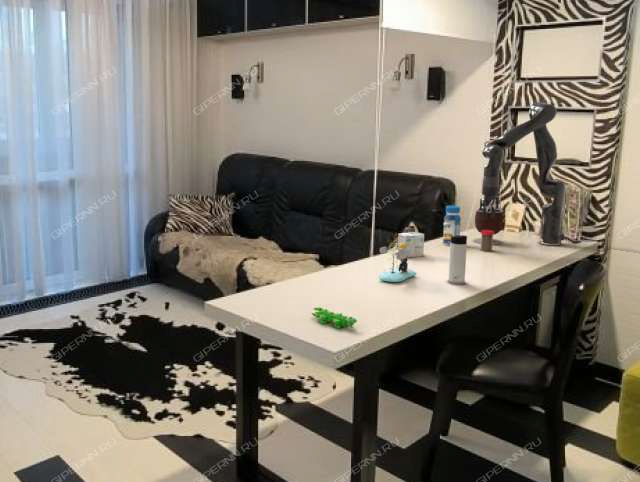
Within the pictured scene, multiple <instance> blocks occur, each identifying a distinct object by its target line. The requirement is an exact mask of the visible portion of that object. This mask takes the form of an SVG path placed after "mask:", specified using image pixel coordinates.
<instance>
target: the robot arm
mask: <svg viewBox="0 0 640 482" xmlns="http://www.w3.org/2000/svg"><path fill="white" fill-rule="evenodd" d="M528 116H529V120H527V121H525V122H523V123H520V124H518V125H515V126H513V127H511V128H510V129H508V130H507V131H506V132H505V133H503V134H502V135H500V137H497V138H495V139H493V140H492V141H490V142H489V143H487V144H486V145H485V146H483V148H482V150H481V154H482V156H483V157H484V158H485V159H488V161H487V164H485V165H484V166H483V176H482V185H481V186H482V187H481V195H482V196H484V197H483V198H480V199H479V208H480V211H482V219H484V220H487V211H488V209H489V208H491V211H490V217H491V218H495V210H496V209H499V208H500V207H499V206H500V196H498V195H499V191H500V190H499V189H500V169H501V166H502V162H503V159H504V150H507V149H510V148H512V147H513V146H515V145H516V144H517V143H518V142H520V141H521V140H522V139H523V138H525V137H527V136H528V135H530V134H531V133H533V137H534V138H533V139H534V145H535V146H534V147H535V154H536V159H537V166H538V176H539V180H538V182H539V183H538V184H539V193H540V195H541V196H542V197H544V198H546V199H552V202H550V203H546V204H543V205H542V207H541V220H540V233H539V234H540V235H539V239H538V240H539V244H540V245H545V246H560V245H562V241H564V240H568V241H569V242H570V243H573V244H578V243H581V240H572V239H571V238H570V237H567V236H565V233H563V225H562V220H563V219H562V217H563V209H564V204H565V196H566V190H567V189H566V183H565V182H564V181H562V180H554V179H550V171H551V169H552V167H553V166H554V165H555V163H556V161H557V159H558V148H557V144H556V141H555V140H554V137H553V136H552V134H551V133H550V131H549V129H548V126H547V124H549V123H551V122H552V121H553V120H554V119H555V118H556V116H557V107H556V106H555V105H553V104H551V103H547V102H540V101H536V102H534V103H532V104H531V106H530V107H529V110H528Z"/></svg>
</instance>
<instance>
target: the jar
mask: <svg viewBox="0 0 640 482" xmlns="http://www.w3.org/2000/svg"><path fill="white" fill-rule="evenodd" d="M481 238H482V240H481V243H480V251H482V252H493V246H494V245H493V239H494V235H482V234H481Z"/></svg>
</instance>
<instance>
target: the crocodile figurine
mask: <svg viewBox="0 0 640 482" xmlns="http://www.w3.org/2000/svg"><path fill="white" fill-rule="evenodd" d="M312 310H314V312H311V315H312V316H313V317H315V318H316V319H320V321H319V322H320V323H321V324H323V325H325V324H327V323H328V322H332V324H334V325H333V327H334V328H336V329H341V327H343V328H346V326H349V327H350V329H353V328H354V325H355V324H356V323H357V322H358V320H357V318H354V317H353V316H349V317H348V315H343V313H342V312H340V313H338V312H337V313H334V311H330V310H328V309H327V308H322V307H321V306H319V307H313V308H312Z"/></svg>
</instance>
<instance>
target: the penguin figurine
mask: <svg viewBox="0 0 640 482" xmlns="http://www.w3.org/2000/svg"><path fill="white" fill-rule="evenodd" d="M406 245H407V244H406V243H404V244H403V243H402V244H400V245H398V244H397V246H396V247H397V248H396V249H397V251H396V252H395V250H393V251H392V252H393V253H392V252H389V253H390V254H391V255H392V257H390V258H388V259H387V261H389V260H392V262H391V266H392V267H389V270H388V271H387V270H385V269H384V270H383V272H382V273H380V274H379V277H378V278H379V280H381V281H384V282H388V283H390V282H391V283H398V282H399V283H400V282H403V281H404V280H406V279H408V278H411V277H414V276H416V275H417V272H416V271H415V270H412V269H411V268H408V266H409V263H408V262H409V261H410V260H409V259H408V258H409V257H407V256H408V255H410V254H411V253H410V252H409V249H407V247H406ZM387 249H388V248H387V246H382V247H380V248H379V252H380V255H383V254H386V253H388V250H387ZM398 250H399V251H398ZM395 259H396V260H397V261H395ZM398 261H400V263H399V264H398V265H396V268H395V263H398Z"/></svg>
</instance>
